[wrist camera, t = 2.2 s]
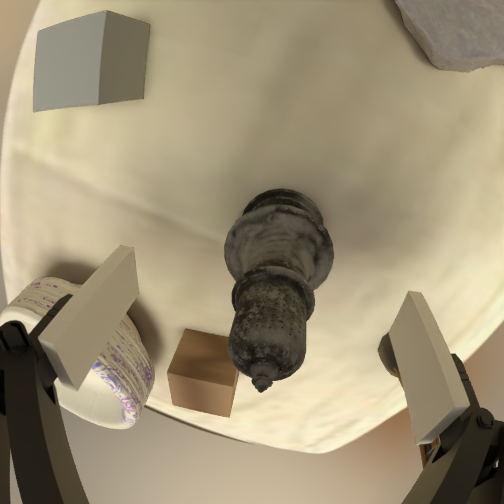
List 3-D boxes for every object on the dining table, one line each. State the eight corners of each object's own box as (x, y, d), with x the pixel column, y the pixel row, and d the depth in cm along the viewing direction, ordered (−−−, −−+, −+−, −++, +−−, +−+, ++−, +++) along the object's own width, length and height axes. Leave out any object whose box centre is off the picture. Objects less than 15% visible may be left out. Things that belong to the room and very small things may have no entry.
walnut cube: (243, 339, 25) (232, 386, 20) (238, 373, 27) (229, 417, 23) (185, 327, 25) (166, 372, 21) (188, 363, 27) (172, 405, 23)
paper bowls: (26, 292, 27) (-15, 336, 20) (84, 227, 21) (19, 283, 14) (113, 382, 32) (87, 431, 25) (199, 356, 27) (174, 428, 20)
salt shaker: (296, 166, 17) (294, 291, 7) (344, 243, 19) (378, 406, 9) (217, 215, 19) (136, 359, 9) (269, 281, 21) (242, 440, 11)
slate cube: (150, 24, 14) (106, 10, 9) (144, 98, 16) (98, 104, 12) (87, 35, 14) (38, 31, 10) (83, 102, 16) (33, 112, 12)
